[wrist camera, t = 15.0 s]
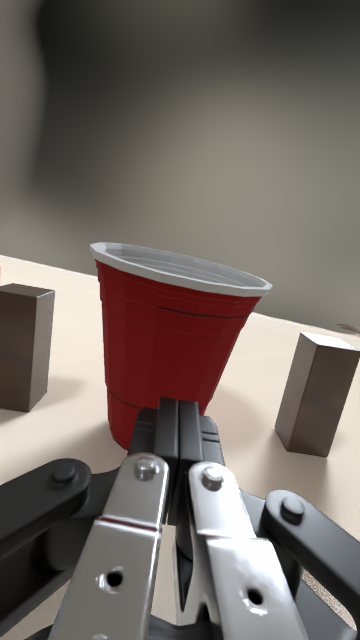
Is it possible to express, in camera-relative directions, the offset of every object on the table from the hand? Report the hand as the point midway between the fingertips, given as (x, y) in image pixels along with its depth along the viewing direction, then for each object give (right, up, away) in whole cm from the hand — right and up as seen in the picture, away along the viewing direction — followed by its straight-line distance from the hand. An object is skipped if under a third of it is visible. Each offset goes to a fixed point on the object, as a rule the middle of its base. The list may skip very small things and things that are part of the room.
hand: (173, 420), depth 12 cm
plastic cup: (-2, -4, +9) cm, 10 cm away
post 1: (-11, -2, +10) cm, 16 cm away
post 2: (+9, -5, +11) cm, 16 cm away
